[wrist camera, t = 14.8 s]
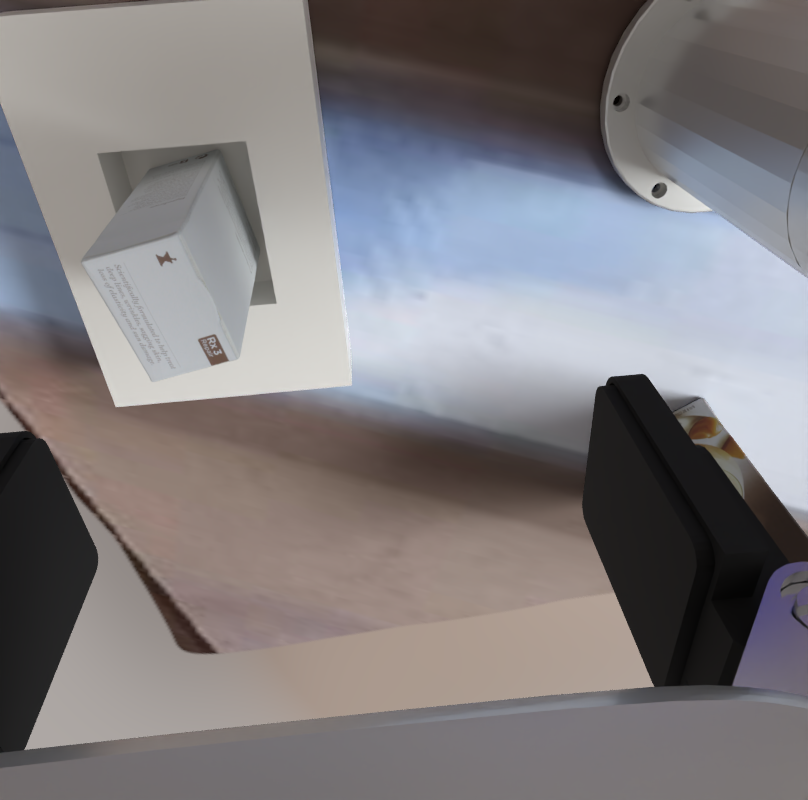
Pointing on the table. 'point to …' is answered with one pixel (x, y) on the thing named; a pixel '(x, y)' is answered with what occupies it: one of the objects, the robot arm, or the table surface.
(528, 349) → the table surface
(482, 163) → the table surface
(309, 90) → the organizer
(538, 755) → the robot arm
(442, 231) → the table surface
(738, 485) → the coffee box
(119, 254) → the skincare box
